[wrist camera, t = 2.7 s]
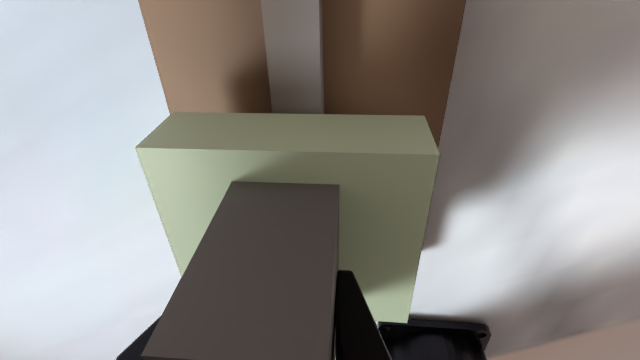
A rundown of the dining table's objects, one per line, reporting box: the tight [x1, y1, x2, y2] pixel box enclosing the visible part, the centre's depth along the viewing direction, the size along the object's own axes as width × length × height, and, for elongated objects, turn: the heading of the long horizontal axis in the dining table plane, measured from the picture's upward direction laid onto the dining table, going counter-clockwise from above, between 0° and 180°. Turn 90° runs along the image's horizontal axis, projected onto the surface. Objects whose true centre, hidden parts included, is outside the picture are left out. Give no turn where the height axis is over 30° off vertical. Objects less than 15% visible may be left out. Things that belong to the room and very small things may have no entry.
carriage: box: [135, 112, 440, 360], centre depth 10 cm, size 8×7×7 cm
